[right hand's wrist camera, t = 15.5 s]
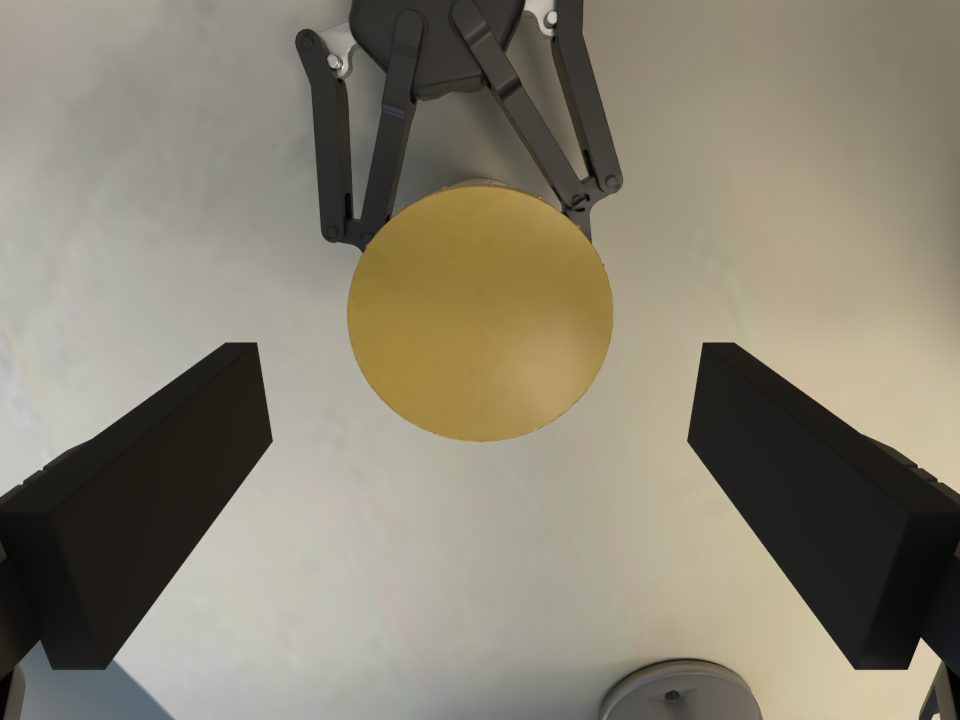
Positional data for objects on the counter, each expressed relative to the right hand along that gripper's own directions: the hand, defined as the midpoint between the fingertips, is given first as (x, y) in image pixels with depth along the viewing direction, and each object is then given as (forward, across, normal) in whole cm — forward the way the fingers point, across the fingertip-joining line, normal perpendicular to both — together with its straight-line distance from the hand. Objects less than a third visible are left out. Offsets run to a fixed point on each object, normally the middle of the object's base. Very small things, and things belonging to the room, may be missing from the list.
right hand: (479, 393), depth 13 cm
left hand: (+18, +1, -5) cm, 18 cm away
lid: (+6, 0, 0) cm, 6 cm away
